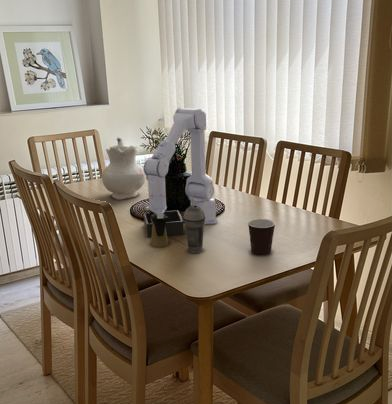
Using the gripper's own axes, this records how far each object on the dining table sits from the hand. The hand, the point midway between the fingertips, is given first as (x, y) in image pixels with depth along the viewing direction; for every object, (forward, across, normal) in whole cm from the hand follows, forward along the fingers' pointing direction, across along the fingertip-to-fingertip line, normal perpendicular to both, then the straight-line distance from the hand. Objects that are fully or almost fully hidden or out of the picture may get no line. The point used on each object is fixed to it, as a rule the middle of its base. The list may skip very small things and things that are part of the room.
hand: (159, 232), depth 188 cm
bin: (+4, -14, +3) cm, 15 cm away
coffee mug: (+4, +14, +33) cm, 36 cm away
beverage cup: (+5, +9, +11) cm, 15 cm away
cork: (+5, 0, 0) cm, 5 cm away
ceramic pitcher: (+4, -65, -9) cm, 66 cm away
